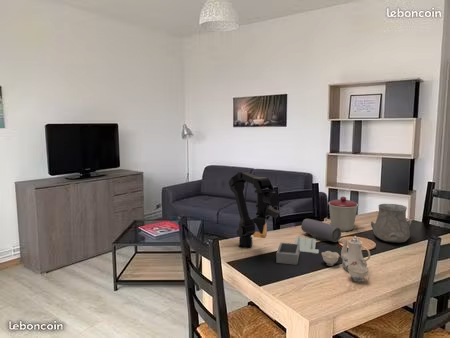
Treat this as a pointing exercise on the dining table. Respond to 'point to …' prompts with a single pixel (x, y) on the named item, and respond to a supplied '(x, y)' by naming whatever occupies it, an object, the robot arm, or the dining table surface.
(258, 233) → the wood grain brick
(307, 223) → the bluetooth speaker
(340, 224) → the canister
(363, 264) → the chinaware
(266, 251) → the dining table surface
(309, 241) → the metal bracket
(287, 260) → the open box
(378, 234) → the vessel
